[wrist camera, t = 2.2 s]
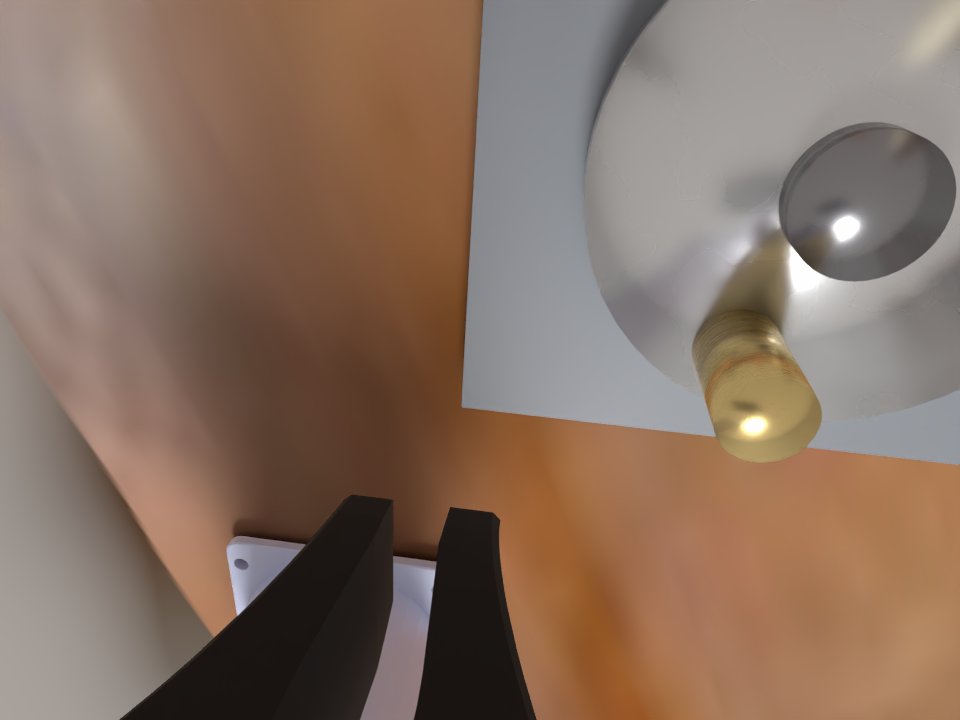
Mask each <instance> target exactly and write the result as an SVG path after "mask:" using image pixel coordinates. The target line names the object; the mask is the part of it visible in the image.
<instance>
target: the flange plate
mask: <svg viewBox="0 0 960 720" xmlns="http://www.w3.org/2000/svg"><path fill="white" fill-rule="evenodd" d="M583 199H584V218H585V233H586V242H587V247H588V252H589V256H590V261H591V266H592V270H593V273H594V276H595V279H596V281H597V284H598V287H599V290H600V292H601V295H602V298H603V299H604V301H605V303H606V305H607V307H608V309H609V311H610V313H611V314H612V316H613V318H614V320H615V322H616V323H617V325H618V326H619V327H620V329H621V330H622V331H623V333H624V334H625V336H626V337H627V338H628V340H629V341H630V342H631V344H632V345H633V346H634V347H635V348H636V349H637V350H638V351H639V352H640V353H641V354H642V355H643V356H644V357H645V358H646V359H647V360H648V361H649V362H650V363H651V364H652V365H653V366H654V367H655V368H657V369H658V370H659V371H661V372H662V373H663V374H664V375H666V376H667V377H668V378H670V379H671V380H672V381H673V382H675V383H677V384H678V385H680V386H682V387H684V388H685V389H687V390H689V391H691V392H692V393H694V394H696V395H697V396H699V397H702V398H704V399H705V402H706V405H707V409H708V412H709V415H710V419H711V422H712V425H713V428H714V432H715V435H716V438H717V440H718V442H719V443H720V444H721V446H722V447H723V448H724V449H725V450H726V451H728V452H729V453H730V454H732V455H734V456H735V457H738V458H740V459H743V460H746V461H751V462H773V461H778V460H782V459H785V458H788V457H790V456H792V455H794V454H796V453H798V452H799V451H801V450H802V449H803V448H805V447H806V446H807V445H808V444H809V443H810V442H811V441H812V440H813V439H814V437H815V436H816V434H817V432H818V430H819V428H820V425H821V422H827V421H846V420H853V419H860V418H867V417H874V416H880V415H884V414H888V413H892V412H896V411H900V410H904V409H908V408H912V407H915V406H918V405H920V404H923V403H926V402H929V401H932V400H935V399H938V398H941V397H944V396H946V395H948V394H950V393H952V392H955V391H957V390H959V389H960V0H663V1H662V3H661V4H660V5H659V6H658V8H657V9H656V10H655V11H654V12H653V14H652V15H651V16H650V17H649V19H648V20H647V21H646V22H645V24H644V25H643V26H642V27H641V29H640V30H639V32H638V33H637V35H636V36H635V38H634V40H633V41H632V43H631V44H630V46H629V48H628V49H627V51H626V52H625V54H624V56H623V57H622V59H621V60H620V62H619V64H618V66H617V68H616V70H615V72H614V75H613V77H612V79H611V81H610V83H609V85H608V87H607V89H606V91H605V93H604V96H603V98H602V101H601V104H600V107H599V110H598V113H597V116H596V119H595V122H594V125H593V128H592V133H591V138H590V143H589V148H588V153H587V158H586V163H585V177H584V192H583Z"/></svg>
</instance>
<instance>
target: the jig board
mask: <svg viewBox="0 0 960 720" xmlns="http://www.w3.org/2000/svg"><path fill="white" fill-rule="evenodd" d="M662 1H663V0H484V2H483V20H482V38H481V57H480V75H479V93H478V112H477V130H476V148H475V167H474V185H473V203H472V222H471V240H470V259H469V277H468V295H467V314H466V332H465V350H464V369H463V387H462V405H461V407H463V408H471V409H480V410H489V411H497V412H506V413H515V414H523V415H532V416H541V417H549V418H558V419H567V420H575V421H584V422H593V423H601V424H610V425H619V426H627V427H636V428H645V429H653V430H662V431H671V432H679V433H688V434H697V435H705V436H714V437H716V435H715V432H714V428H713V425H712V422H711V419H710V415H709V412H708V409H707V405H706V402H705V399H704V398H702V397H699V396H697V395H696V394H694V393H692V392H691V391H689V390H687V389H685V388H684V387H682V386H680V385H678V384H677V383H675V382H673V381H672V380H671V379H670V378H668V377H667V376H666V375H664V374H663V373H662V372H661V371H659V370H658V369H657V368H655V367H654V366H653V365H652V364H651V363H650V362H649V361H648V360H647V359H646V358H645V357H644V356H643V355H642V354H641V353H640V352H639V351H638V350H637V349H636V348H635V347H634V346H633V345H632V344H631V342H630V341H629V340H628V338H627V337H626V336H625V334H624V333H623V331H622V330H621V329H620V327H619V326H618V325H617V323H616V322H615V320H614V318H613V316H612V314H611V313H610V311H609V309H608V307H607V305H606V303H605V301H604V299H603V298H602V295H601V292H600V290H599V287H598V284H597V281H596V279H595V276H594V273H593V270H592V266H591V261H590V256H589V252H588V247H587V242H586V233H585V218H584V199H583V192H584V177H585V163H586V158H587V153H588V148H589V143H590V138H591V133H592V128H593V125H594V122H595V119H596V116H597V113H598V110H599V107H600V104H601V101H602V98H603V96H604V93H605V91H606V89H607V87H608V85H609V83H610V81H611V79H612V77H613V75H614V72H615V70H616V68H617V66H618V64H619V62H620V60H621V59H622V57H623V56H624V54H625V52H626V51H627V49H628V48H629V46H630V44H631V43H632V41H633V40H634V38H635V36H636V35H637V33H638V32H639V30H640V29H641V27H642V26H643V25H644V24H645V22H646V21H647V20H648V19H649V17H650V16H651V15H652V14H653V12H654V11H655V10H656V9H657V8H658V6H659V5H660V4H661V3H662ZM806 447H809V448H818V449H827V450H835V451H844V452H853V453H861V454H870V455H879V456H887V457H896V458H905V459H913V460H922V461H931V462H939V463H948V464H957V465H960V389H959V390H957V391H955V392H952V393H950V394H948V395H946V396H944V397H941V398H938V399H935V400H932V401H929V402H926V403H923V404H920V405H918V406H915V407H912V408H908V409H904V410H900V411H896V412H892V413H888V414H884V415H880V416H874V417H867V418H860V419H853V420H846V421H827V422H821V425H820V428H819V430H818V432H817V434H816V436H815V437H814V439H813V440H812V441H811V442H810V443H809V444H808V445H807V446H806Z"/></svg>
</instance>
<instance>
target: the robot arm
mask: <svg viewBox="0 0 960 720" xmlns="http://www.w3.org/2000/svg"><path fill="white" fill-rule="evenodd" d="M499 526H500V520H499V518H498V517H497V516H496V515H495V514H494V513H492V512H484V511H476V510H468V509H460V508H452V507H450V510H449V513H448V516H447V519H446V522H445V525H444V529H443V532H442V535H441V539H440V542H439V546H438V554H437V562H435V561H428V560H420V559H412V558H405V557H397V556H393V500H389V499H381V498H373V497H365V496H357V495H351V496H349V497H348V498H346V499H345V500H344V501H343V502H342V503H341V504H340V506H339V507H338V508H337V509H336V511H335V512H334V513H333V514H332V515H331V516H330V518H329V519H328V520H327V521H326V522H325V523H324V525H323V526H322V527H321V528H320V529H319V530H318V532H317V533H316V534H315V535H314V536H313V537H312V538H311V540H310V541H309V542H308V543H307V544H299V543H291V542H284V541H276V540H269V539H261V538H254V537H246V536H236V537H234V538H232V540H231V541H230V543H229V544H228V546H227V550H226V551H227V558H228V564H229V570H230V576H231V582H232V588H233V594H234V600H235V606H236V612H237V617H236V618H235V619H234V620H233V621H231V622H230V623H229V624H228V625H227V626H226V627H225V628H224V629H223V630H222V631H221V632H220V633H219V634H218V635H217V636H216V637H214V638H213V639H212V640H211V641H210V642H209V643H208V644H207V645H206V646H205V647H204V648H203V649H202V650H201V651H200V652H199V653H198V654H196V655H195V656H194V657H193V658H192V659H191V660H190V661H189V662H187V663H186V664H185V665H184V666H183V667H182V668H181V669H179V670H178V671H177V672H176V673H175V674H174V675H173V676H171V677H170V678H169V679H168V680H167V681H166V682H164V683H163V684H162V685H161V686H160V687H159V688H157V689H156V690H155V691H154V692H153V693H151V694H150V695H149V696H148V697H147V698H146V699H144V700H143V701H142V702H140V703H139V704H138V705H137V706H136V707H134V708H133V709H132V710H131V711H129V712H128V713H127V714H126V715H125V716H123V717H122V718H121V719H120V720H536V716H535V713H534V710H533V706H532V703H531V700H530V696H529V693H528V689H527V686H526V683H525V679H524V676H523V672H522V668H521V664H520V660H519V657H518V653H517V649H516V644H515V640H514V635H513V631H512V626H511V622H510V617H509V613H508V608H507V603H506V598H505V592H504V585H503V578H502V571H501V563H500V552H499ZM242 559H243V560H242ZM244 560H245V561H244Z"/></svg>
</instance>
